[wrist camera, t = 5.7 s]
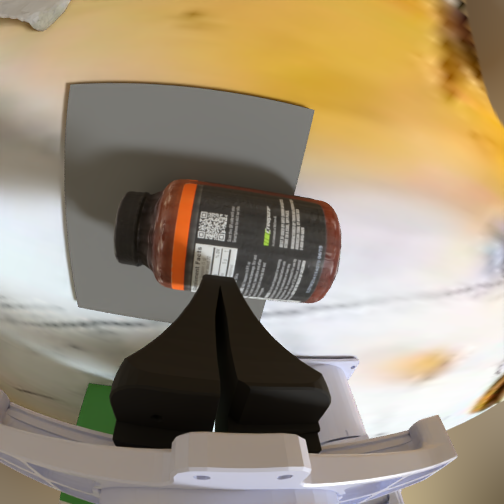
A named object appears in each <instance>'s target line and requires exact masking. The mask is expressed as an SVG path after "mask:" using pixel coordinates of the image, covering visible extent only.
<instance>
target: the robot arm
mask: <svg viewBox="0 0 504 504" xmlns="http://www.w3.org/2000/svg"><path fill="white" fill-rule="evenodd" d="M358 364H359V360H358V359H356V358H355V359H298V358H297V357H295V356H294V355H292V354H291V353H290V352H289V351H287V350H286V349H285V348H284V347H283V346H282V345H281V344H280V343H278V342H277V341H276V340H275V339H274V338H273V337H272V336H271V335H270V334H269V332H268V331H267V330H266V329H265V328H264V327H263V325H262V324H261V323H260V322H259V320H258V319H257V317H256V316H255V315H254V313H253V312H252V310H251V309H250V307H249V305H248V304H247V302H246V300H245V299H244V297H243V295H242V293H241V291H240V289H239V287H238V285H237V283H236V280H235V279H234V278H233V277H225V276H217V275H209V274H205V275H203V276H202V280H201V283H200V285H199V287H198V289H197V291H196V293H195V294H194V296H193V298H192V299H191V301H190V302H189V304H188V305H187V306H186V308H185V309H184V310H183V312H182V313H181V314H180V315H179V317H178V318H177V319H176V320H175V321H174V322H173V323H172V324H171V325H170V326H169V327H168V328H167V329H166V330H165V331H164V332H163V333H162V334H161V335H159V336H158V337H157V338H156V339H154V340H153V341H152V342H150V343H149V344H148V345H146V346H145V347H144V348H142V349H141V350H139V351H137V352H136V353H134V354H132V355H130V356H129V357H127V358H125V359H124V361H123V363H122V364H121V366H120V368H119V370H118V372H117V374H116V376H115V378H114V381H113V384H112V387H111V391H110V395H109V399H110V404H111V407H112V410H113V413H114V415H115V418H116V423H115V428H114V433H113V435H111V434H107V433H103V432H99V431H95V430H91V429H87V428H83V427H80V426H76V425H73V424H70V423H66V422H63V421H60V420H57V419H54V418H51V417H48V416H45V415H43V414H40V413H37V412H34V411H32V410H29V409H27V408H24V407H22V406H19V405H17V404H15V403H12V402H10V400H9V398H8V396H7V395H6V394H5V392H4V391H2V390H1V389H0V462H1V463H3V464H4V465H6V466H8V467H10V468H12V469H14V470H16V471H18V472H20V473H22V474H24V475H26V476H28V477H30V478H32V479H34V480H36V481H38V482H40V483H42V484H45V485H47V486H49V487H52V488H54V489H56V490H59V491H61V492H64V493H66V494H69V495H71V496H74V497H77V498H79V499H82V500H85V501H88V502H91V503H94V504H404V502H403V498H402V495H401V489H403V488H405V487H408V486H411V485H413V484H415V483H418V482H421V481H423V480H425V479H426V478H428V477H430V476H431V475H433V474H434V473H436V472H437V471H439V470H440V469H442V468H443V467H444V466H446V465H447V464H449V463H450V462H451V461H453V460H454V459H455V458H457V453H456V451H455V449H454V447H453V445H452V442H451V440H450V438H449V436H448V434H447V432H446V430H445V427H444V425H443V423H442V421H441V419H440V417H439V415H435V416H432V417H428V418H425V419H421V420H419V421H417V422H416V423H415V424H413V425H412V426H411V427H410V428H409V430H407V431H403V432H399V433H395V434H390V435H386V436H381V437H376V438H371V439H369V437H368V435H367V433H366V431H365V428H364V425H363V422H362V419H361V416H360V413H359V411H358V408H357V405H356V402H355V399H354V397H353V394H352V391H351V388H350V386H349V383H348V380H349V378H350V377H351V375H352V374H353V372H354V371H355V369H356V367H357V366H358ZM214 422H215V432H212V431H213V426H214Z"/></svg>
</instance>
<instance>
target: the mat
mask: <svg viewBox="0 0 504 504" xmlns="http://www.w3.org/2000/svg"><path fill="white" fill-rule="evenodd" d="M313 114H314V110H312V109H308V108H304V107H300V106H296V105H292V104H288V103H283V102H279V101H274V100H269V99H264V98H259V97H254V96H249V95H243V94H237V93H231V92H224V91H217V90H210V89H202V88H193V87H183V86H172V85H158V84H136V83H91V84H70V91H69V99H68V109H67V120H66V136H65V205H66V221H67V233H68V243H69V252H70V260H71V267H72V274H73V281H74V287H75V292H76V298H77V303H78V307H81V308H85V309H91V310H96V311H101V312H106V313H112V314H118V315H123V316H129V317H135V318H142V319H148V320H155V321H162V322H169V323H173V322H174V321H175V320H176V319H177V318H178V317H179V315H180V314H181V313H182V312H183V310H184V309H185V308H186V306H187V305H188V304H189V302H190V301H191V299H192V298H193V296H194V294H195V293H196V292H190V291H184V290H176V289H171V288H167V287H164V286H162V285H161V284H160V283H159V282H158V281H157V280H156V278H155V276H154V274H153V272H152V270H150V269H149V268H148V267H146V266H145V265H142V266H139V267H136V266H133V265H127V264H121V263H119V262H118V261H117V259H116V256H115V253H114V239H113V238H114V225H115V219H116V214H117V210H118V206H119V204H120V201H121V200H122V198H123V196H124V195H125V194H126V193H127V192H129V191H135V192H149V193H150V194H155V193H157V192H160V191H162V190H164V189H165V188H166V186H167V185H168V184H169V183H171V182H172V181H174V180H178V179H189V180H197V181H207V182H213V183H221V184H227V185H234V186H241V187H247V188H254V189H259V190H266V191H272V192H277V193H283V194H289V195H294V192H295V188H296V184H297V180H298V176H299V172H300V168H301V164H302V160H303V156H304V152H305V148H306V144H307V140H308V135H309V131H310V127H311V123H312V119H313ZM244 299H245V300H246V302H247V304H248V305H249V307H250V309H251V310H252V312H253V313H254V315H255V316H256V317H257V319H258V320H259V322H260V319H261V315H262V312H263V308H264V305H265V301H266V300H262V299H253V298H244Z"/></svg>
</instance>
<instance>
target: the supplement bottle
mask: <svg viewBox="0 0 504 504" xmlns="http://www.w3.org/2000/svg"><path fill="white" fill-rule="evenodd" d="M113 239H114V253H115V256H116V259H117V261H118V262H119V263H121V264H127V265H133V266H136V267H139V266H142V265H145V266H146V267H148V268H149V269H150V270H152V272H153V274H154V276H155V278H156V280H157V281H158V282H159V283H160V284H161V285H162V286H164V287H167V288H171V289H176V290H184V291H190V292H196V291H197V289H198V287H199V285H200V283H201V280H202V276H203V275H205V274H209V275H217V276H225V277H233V278H234V279H235V280H236V283H237V285H238V287H239V289H240V291H241V293H242V295H243V297H244V298H253V299H262V300H272V301H284V302H295V303H314V302H317V301H319V300H321V299H322V298H323V297H324V296H325V295H326V293H327V292H328V290H329V289H330V287H331V285H332V283H333V281H334V279H335V277H336V274H337V272H338V267H339V260H340V250H341V229H340V224H339V221H338V218H337V215H336V213H335V211H334V209H333V208H332V207H331V206H330V205H329V204H328V203H326V202H323V201H319V200H314V199H311V198H305V197H300V196H294V195H289V194H283V193H277V192H272V191H266V190H259V189H254V188H247V187H241V186H234V185H227V184H221V183H213V182H207V181H197V180H189V179H178V180H174V181H172V182H171V183H169V184H168V185H167V186H166V188H165V189H164V190H162V191H160V192H157V193H155V194H150V193H149V192H135V191H129V192H127V193H126V194H125V195H124V196H123V198H122V200H121V201H120V204H119V206H118V210H117V214H116V219H115V225H114V238H113Z"/></svg>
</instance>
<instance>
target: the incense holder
mask: <svg viewBox="0 0 504 504" xmlns="http://www.w3.org/2000/svg"><path fill="white" fill-rule="evenodd" d="M69 2H70V0H0V17H1V18H11V19H16V18H17V19H19V20H20V21H22V22H23V21H26V22H28V23H29V24H30V25H31V26H32V27H33V28H34V29H36V30H38V31H44V30H46V29H47V28H48V27H49V26H50V25H51V24H52V23H54V22H55V21H56V20H57V18H58V17H59V16H60V15H61V14H62V13H63V12H64V11H65V9H66V8H67V6H68V4H69Z"/></svg>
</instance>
